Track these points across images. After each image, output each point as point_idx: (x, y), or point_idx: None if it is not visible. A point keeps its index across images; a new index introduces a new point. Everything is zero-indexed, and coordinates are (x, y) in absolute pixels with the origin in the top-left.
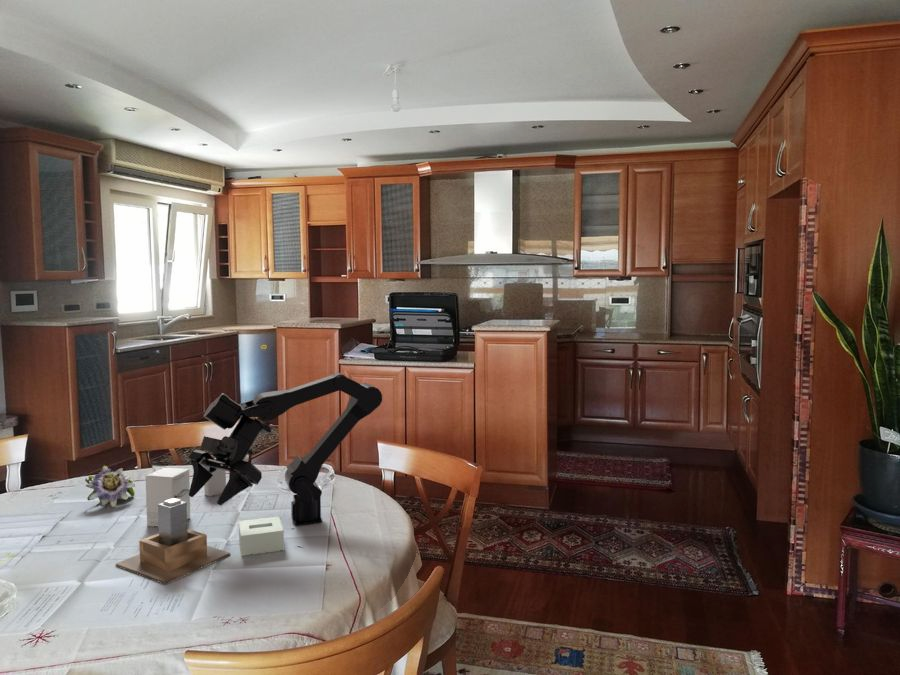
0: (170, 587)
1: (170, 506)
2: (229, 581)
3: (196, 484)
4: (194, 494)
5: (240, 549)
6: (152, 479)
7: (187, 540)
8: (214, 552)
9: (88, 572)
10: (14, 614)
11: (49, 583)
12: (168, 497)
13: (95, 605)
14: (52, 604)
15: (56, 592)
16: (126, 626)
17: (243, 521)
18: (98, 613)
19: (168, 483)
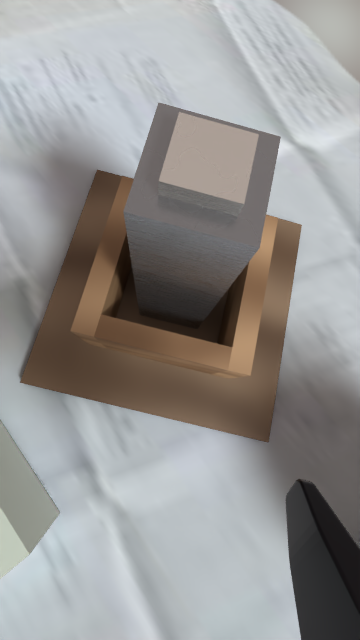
0: (75, 165)
1: (173, 121)
2: None
3: (335, 608)
4: (288, 523)
5: (4, 429)
6: None
7: (110, 260)
8: (75, 367)
9: (328, 185)
10: (297, 26)
11: (356, 126)
12: None
13: (181, 73)
14: (266, 63)
15: (305, 100)
16: (55, 23)
17: (2, 561)
18: (149, 50)
19: None
